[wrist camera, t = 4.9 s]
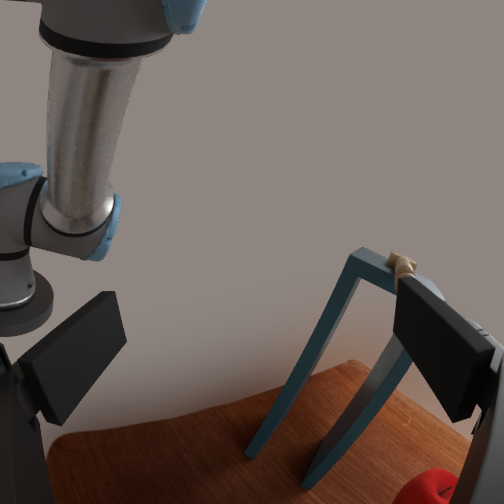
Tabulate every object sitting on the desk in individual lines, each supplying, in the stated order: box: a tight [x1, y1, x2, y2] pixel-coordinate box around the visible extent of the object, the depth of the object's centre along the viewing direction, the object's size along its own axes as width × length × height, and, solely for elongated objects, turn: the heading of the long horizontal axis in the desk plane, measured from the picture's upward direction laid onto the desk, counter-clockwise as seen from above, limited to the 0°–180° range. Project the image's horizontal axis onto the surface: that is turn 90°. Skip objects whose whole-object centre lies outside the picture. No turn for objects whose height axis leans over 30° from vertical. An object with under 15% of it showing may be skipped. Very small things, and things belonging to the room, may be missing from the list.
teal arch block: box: [244, 247, 446, 490], centre depth 33 cm, size 10×11×28 cm
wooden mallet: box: [387, 250, 417, 292], centre depth 25 cm, size 17×3×2 cm, turn 152°
